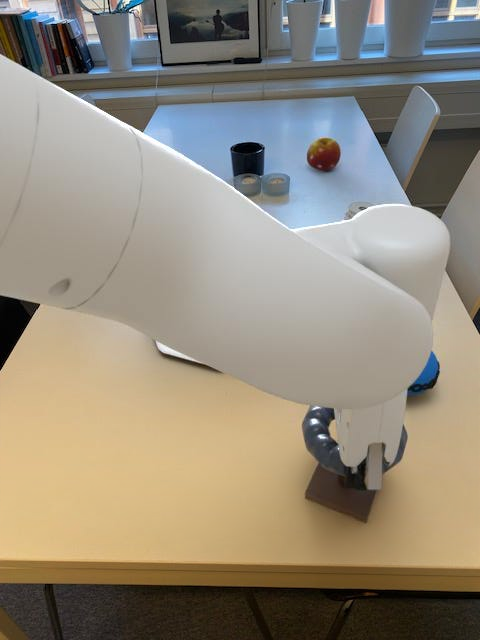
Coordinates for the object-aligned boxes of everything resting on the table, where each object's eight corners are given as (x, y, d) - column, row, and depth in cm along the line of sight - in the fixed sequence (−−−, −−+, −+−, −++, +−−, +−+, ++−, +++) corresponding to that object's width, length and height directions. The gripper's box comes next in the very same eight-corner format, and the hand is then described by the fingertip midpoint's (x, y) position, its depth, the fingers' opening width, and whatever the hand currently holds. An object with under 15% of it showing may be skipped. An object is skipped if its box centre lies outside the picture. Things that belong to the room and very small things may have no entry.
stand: (366, 523, 60) (376, 476, 53) (304, 497, 63) (307, 450, 56) (383, 471, 65) (394, 422, 58) (325, 449, 68) (330, 401, 61)
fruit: (316, 177, 136) (318, 148, 131) (300, 166, 142) (300, 138, 137) (346, 169, 139) (348, 141, 133) (328, 159, 145) (330, 131, 140)
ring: (391, 499, 51) (395, 483, 49) (287, 461, 56) (287, 445, 54) (413, 418, 59) (417, 402, 57) (321, 390, 63) (322, 374, 62)
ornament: (364, 384, 77) (371, 337, 70) (399, 359, 80) (409, 311, 74) (409, 417, 71) (422, 369, 65) (445, 388, 75) (460, 340, 69)
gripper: (325, 291, 49) (317, 410, 61) (344, 425, 36) (329, 542, 48) (402, 289, 48) (379, 410, 60) (448, 425, 36) (408, 544, 47)
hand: (357, 467), depth 54 cm, fingers closed on ring, 3 cm apart
